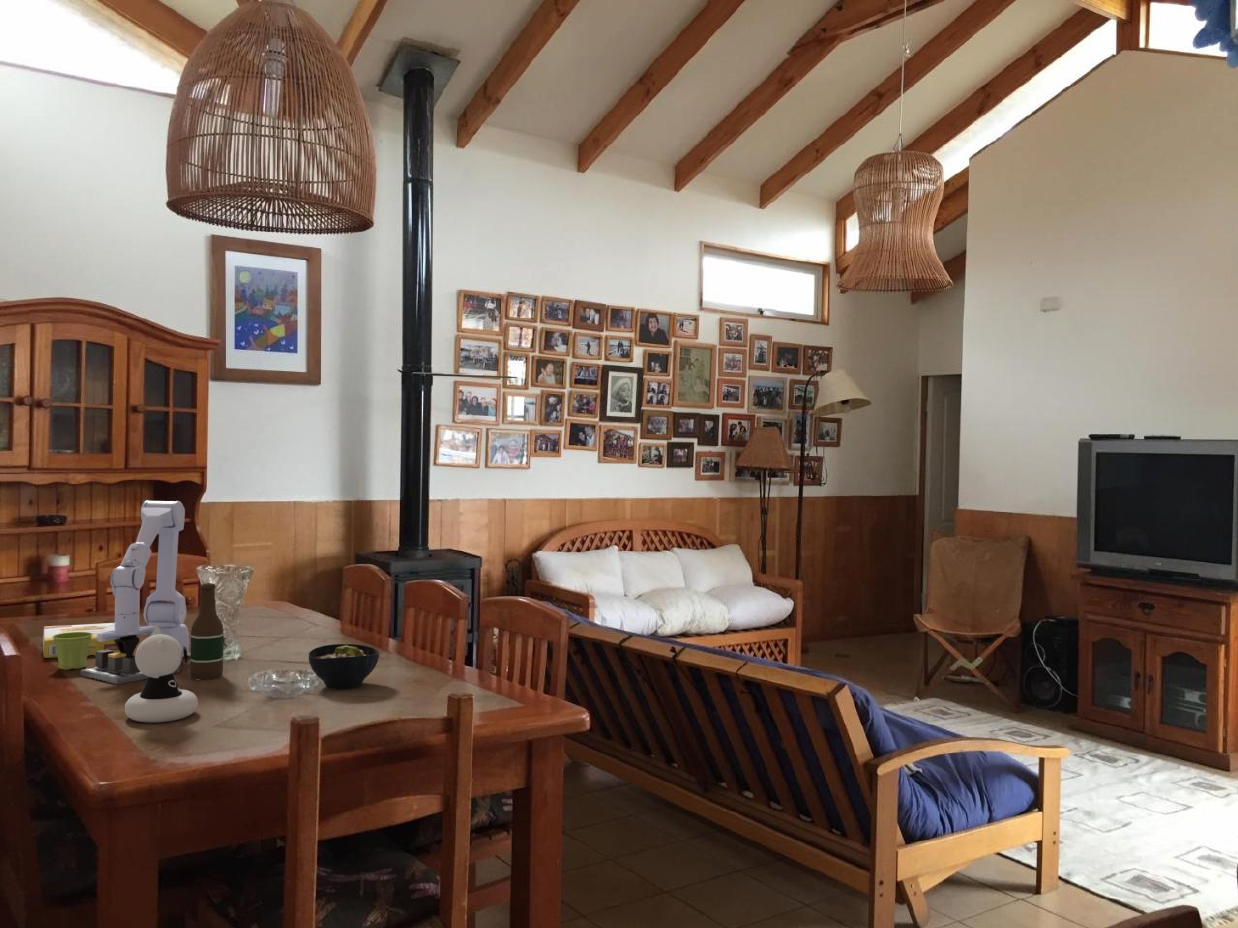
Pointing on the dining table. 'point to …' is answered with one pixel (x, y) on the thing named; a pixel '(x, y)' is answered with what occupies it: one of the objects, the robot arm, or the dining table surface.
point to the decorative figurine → (160, 682)
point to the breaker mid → (115, 661)
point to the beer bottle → (207, 638)
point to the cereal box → (94, 645)
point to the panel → (115, 677)
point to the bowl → (343, 664)
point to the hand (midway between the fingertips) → (126, 665)
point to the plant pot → (72, 649)
